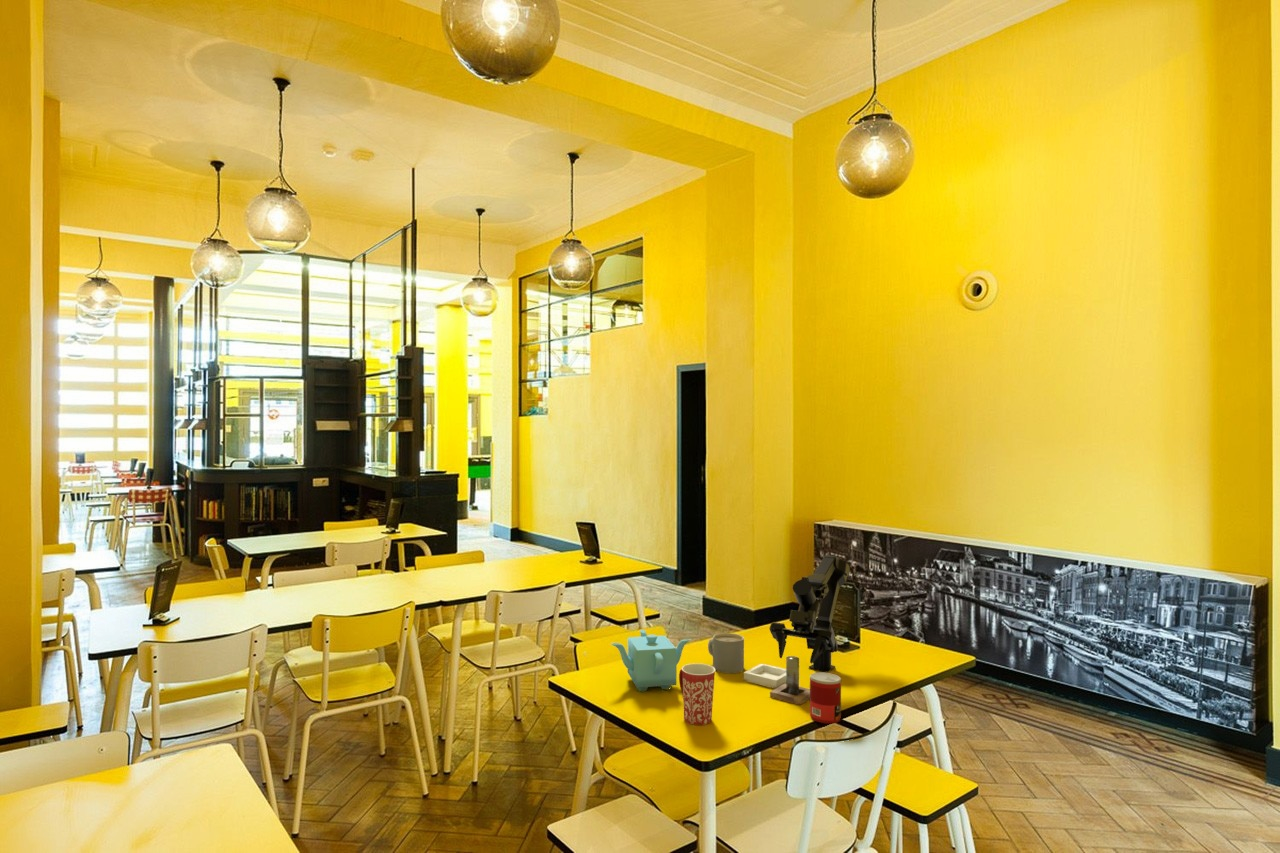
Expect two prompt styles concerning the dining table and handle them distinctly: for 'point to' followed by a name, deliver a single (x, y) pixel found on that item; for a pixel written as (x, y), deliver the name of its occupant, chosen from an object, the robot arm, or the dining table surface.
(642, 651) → the teakettle
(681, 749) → the dining table surface
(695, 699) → the mug
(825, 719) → the canned food
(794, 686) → the strut
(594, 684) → the dining table surface
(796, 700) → the brown flat square frame
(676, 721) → the dining table surface
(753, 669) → the bin tray
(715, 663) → the coffee mug
